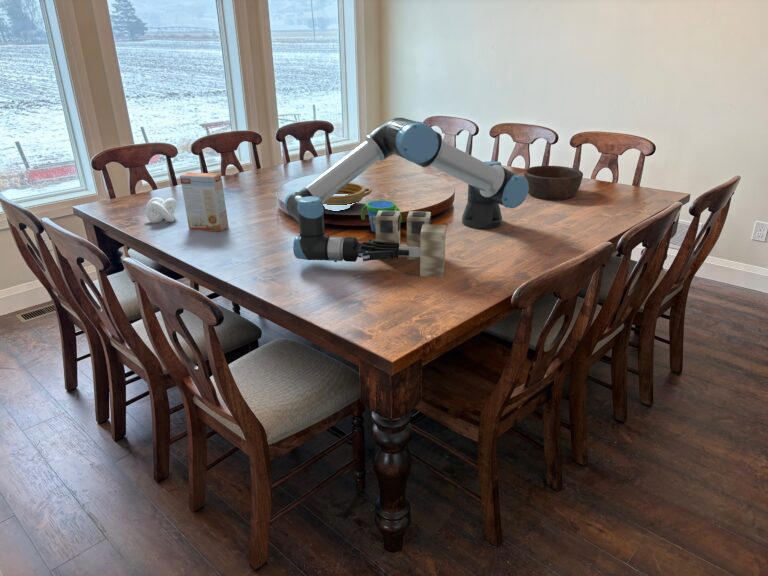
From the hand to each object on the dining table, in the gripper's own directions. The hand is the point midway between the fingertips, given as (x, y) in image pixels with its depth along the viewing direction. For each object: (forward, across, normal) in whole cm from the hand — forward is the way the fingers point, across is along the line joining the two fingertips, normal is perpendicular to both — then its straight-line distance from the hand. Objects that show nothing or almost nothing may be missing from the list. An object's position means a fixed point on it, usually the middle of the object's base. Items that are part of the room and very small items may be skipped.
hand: (420, 251), depth 167 cm
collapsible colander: (-41, -65, -7) cm, 77 cm away
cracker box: (-84, -33, -6) cm, 90 cm away
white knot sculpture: (-106, -41, -7) cm, 114 cm away
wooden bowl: (+50, -94, -7) cm, 107 cm away
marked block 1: (-2, -13, -6) cm, 15 cm away
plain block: (+4, 0, -6) cm, 7 cm away
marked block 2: (-12, -13, -6) cm, 19 cm away
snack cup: (-18, -37, -7) cm, 42 cm away
